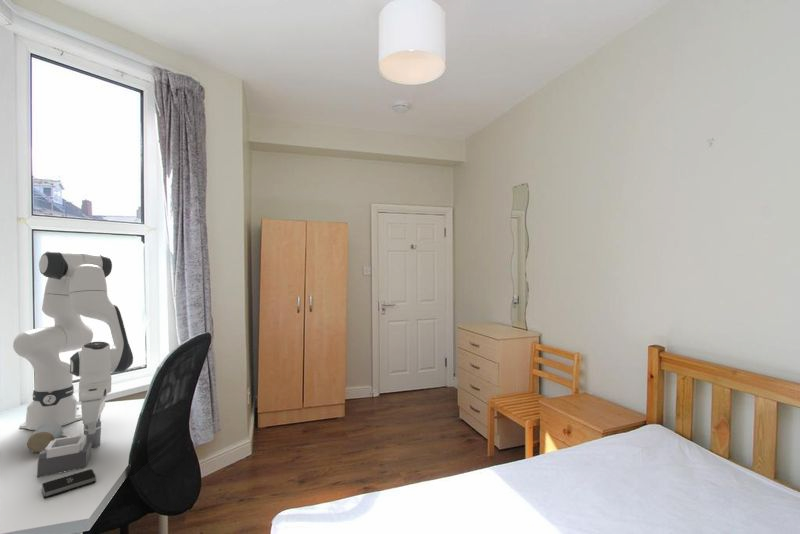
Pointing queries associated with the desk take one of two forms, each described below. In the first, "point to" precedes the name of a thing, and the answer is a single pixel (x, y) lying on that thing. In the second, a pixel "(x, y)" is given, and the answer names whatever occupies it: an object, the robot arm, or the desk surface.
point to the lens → (93, 435)
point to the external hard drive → (68, 483)
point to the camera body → (64, 455)
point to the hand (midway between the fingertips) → (94, 428)
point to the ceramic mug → (44, 436)
